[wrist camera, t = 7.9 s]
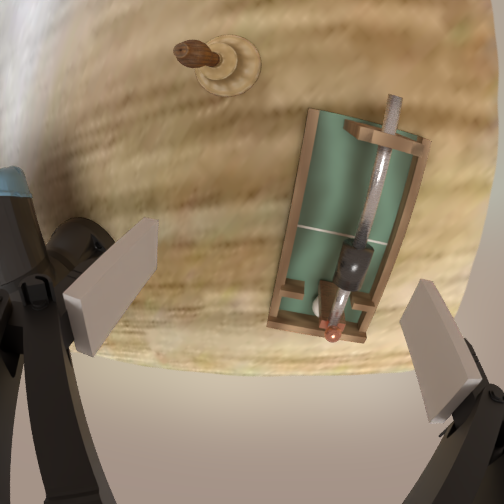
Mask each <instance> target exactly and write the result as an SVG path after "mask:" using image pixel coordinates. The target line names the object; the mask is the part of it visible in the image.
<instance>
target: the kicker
mask: <svg viewBox="0 0 504 504" xmlns="http://www.w3.org/2000/svg"><path fill="white" fill-rule="evenodd" d="M402 101H403V98H401V97H398V96H395V95H391V94H388V99H387V105H386V110H385V115H384V120H383V125H382V130H381V132H385V133H388V134H392V135H395V136H396V131H397V126H398V121H399V116H400V111H401V106H402ZM391 153H392V148H388V147H384V146H381V145H378V148H377V153H376V157H375V162H374V166H373V170H372V174H371V178H370V182H369V186H368V190H367V194H366V198H365V202H364V205H363V209H362V213H361V216H360V220H359V223H358V227H357V230H356V234H355V237H354V239H352V238H349V239H345V240H344V241H343V244H342V248H341V251H340V255H339V258H338V261H337V265H336V268H335V271H334V275H333V278H332V281H333V282H328V281H323V280H320V282H319V285H318V306H319V328H324V329H326V330H325V332H324V336H325V338H326V340H327V341H329V342H337V341H338V340H339V339H340V338H341V334H342V333H341V331H342V332H343V330H344V328H345V325H346V321H345V313H344V308H345V305H346V303H347V300H348V297H349V294H350V292H355V291H359V290H360V289H361V287H362V285H363V282H364V279H365V276H366V274H367V271H368V268H369V265H370V262H371V259H372V256H373V253H374V248H373V247H372V246H371V245H369V244H368V243H367V241H368V238H369V234H370V231H371V228H372V225H373V221H374V218H375V214H376V211H377V207H378V204H379V200H380V197H381V193H382V189H383V185H384V182H385V178H386V174H387V170H388V166H389V162H390V157H391Z"/></svg>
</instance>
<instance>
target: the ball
mask: <svg viewBox="0 0 504 504" xmlns="http://www.w3.org/2000/svg"><path fill="white" fill-rule="evenodd" d="M312 309H313V312H314V314H315V315H316V316H317V317H319V306H318V297H316V298H315V300H314V301H313V305H312Z"/></svg>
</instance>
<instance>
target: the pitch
mask: <svg viewBox="0 0 504 504" xmlns="http://www.w3.org/2000/svg"><path fill="white" fill-rule="evenodd" d="M381 130H382V125H380V124H376V123H373V122H369V121H365V120H361V119H357V118H353V117H349V116H345V115H340V114H336V113H332V112H327V111H322V110H317V109H312V108H308V114H307V120H306V126H305V131H304V137H303V143H302V148H301V154H300V159H299V165H298V170H297V176H296V181H295V186H294V192H293V197H292V202H291V207H290V213H289V218H288V223H287V228H286V233H285V238H284V243H283V248H282V253H281V258H280V263H279V267H278V272H277V277H276V282H275V287H274V291H273V296H272V301H271V305H270V310H269V316H268V321H267V326H266V327H269V328H274V329H279V330H285V331H290V332H296V333H301V334H307V335H313V336H319V337H325V336H324V332H325V330H326V329H324V328H319V317H317V316H316V315H315V314H314V312H313V309H312V305H313V301H314V300H315V298H316V297H318V285H319V282H320V280H323V281H328V282H333V281H332V278H333V275H334V271H335V268H336V265H337V261H338V258H339V255H340V251H341V248H342V244H343V241H344V240H345V239H349V238H352V239H354V237H355V234H356V230H357V227H358V223H359V220H360V216H361V213H362V209H363V205H364V202H365V198H366V194H367V190H368V186H369V182H370V178H371V174H372V170H373V166H374V162H375V157H376V153H377V148H378V145H381V146H384V147H388V148H392V153H391V157H390V162H389V166H388V170H387V174H386V178H385V182H384V185H383V189H382V193H381V197H380V200H379V204H378V207H377V211H376V214H375V218H374V221H373V225H372V228H371V231H370V234H369V238H368V241H367V243H368V244H369V245H371V246H372V247H373V248H374V253H373V256H372V259H371V262H370V265H369V268H368V271H367V274H366V276H365V279H364V282H363V285H362V287H361V289H360V290H359V291H355V292H350V294H349V297H348V300H347V303H346V305H345V308H344V313H345V321H346V325H345V328H344V330H343V332H342V331H341V333H342V334H341V338H340V339H339V340H344V341H350V342H357V343H364V342H365V340H366V338H367V336H366V331H367V329H368V327H369V324H370V322H371V320H372V318H373V315H374V313H375V311H376V308H377V306H378V304H379V301H380V299H381V297H382V294H383V292H384V289H385V287H386V284H387V282H388V279H389V277H390V274H391V272H392V269H393V266H394V264H395V261H396V258H397V256H398V253H399V250H400V247H401V245H402V242H403V239H404V236H405V233H406V230H407V227H408V224H409V221H410V218H411V215H412V212H413V208H414V205H415V202H416V199H417V195H418V192H419V188H420V185H421V181H422V178H423V174H424V170H425V166H426V163H427V159H428V155H429V151H430V146H431V142H432V141H430V140H428V139H425V138H423V137H420V136H416V135H413V134H410V133H407V132H404V131H401V130H397V131H396V136H395V135H392V134H388V133H385V132H381Z"/></svg>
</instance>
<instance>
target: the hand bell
mask: <svg viewBox="0 0 504 504" xmlns="http://www.w3.org/2000/svg"><path fill="white" fill-rule="evenodd" d="M173 53H174V55H175V56H176V58H177V60H178V61H179V62H180V63H181V64H182V65H184V66H186V67H190V68H195V74H196V77H197V79H198V81H199V83H200V84H201V86H202V87H203V88H204V89H206V90H207V91H208V92H210V93H212V94H214V95H217V96H222V97H230V96H235V95H239V94H241V93H243V92H245V91H247V90H248V89H249V88H250V87H251V86H252V85H253V84H254V83H255V82H256V80H257V79H258V77H259V74H260V70H261V58H260V55H259V52H258V50H257V49H256V47H255V46H254V45H253V44H252V43H251V42H250V41H248V40H247V39H245V38H243V37H240V36H237V35H222V36H218V37H216V38H213V39H212V40H210V41H208V42H207V43H206V44H205V43H203V42H201V41H198V40H187V41H184V42H182V43H179V44H177V45H176V46H175V47H174V49H173Z"/></svg>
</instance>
